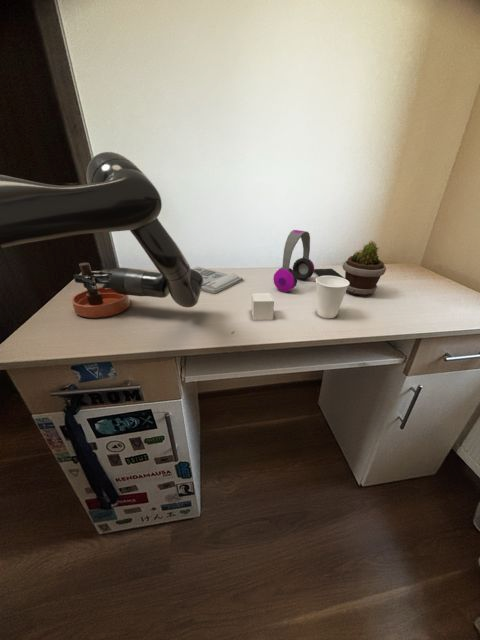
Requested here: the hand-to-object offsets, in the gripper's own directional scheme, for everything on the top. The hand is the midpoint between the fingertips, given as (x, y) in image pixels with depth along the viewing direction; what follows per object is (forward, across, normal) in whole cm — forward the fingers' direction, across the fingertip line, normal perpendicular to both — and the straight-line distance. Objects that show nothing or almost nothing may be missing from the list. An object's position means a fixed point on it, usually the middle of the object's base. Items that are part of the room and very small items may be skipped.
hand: (79, 276), depth 82 cm
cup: (-73, -14, +10) cm, 75 cm away
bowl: (-5, -1, +10) cm, 11 cm away
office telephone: (-26, -32, +10) cm, 42 cm away
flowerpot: (-85, -37, +10) cm, 93 cm away
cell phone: (-75, -50, +10) cm, 91 cm away
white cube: (-53, -8, +10) cm, 55 cm away
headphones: (-61, -38, +10) cm, 72 cm away
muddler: (-3, 0, +8) cm, 9 cm away
